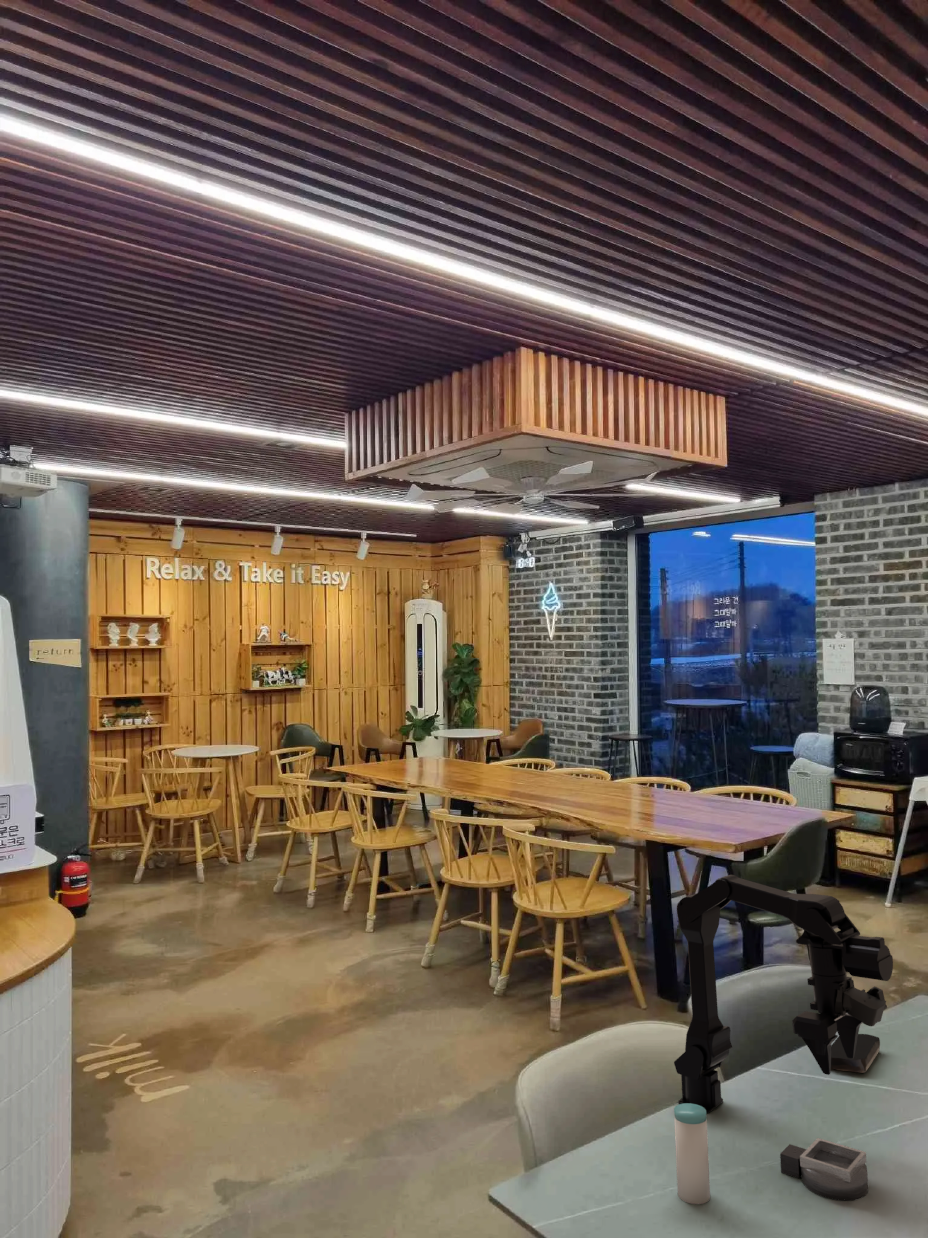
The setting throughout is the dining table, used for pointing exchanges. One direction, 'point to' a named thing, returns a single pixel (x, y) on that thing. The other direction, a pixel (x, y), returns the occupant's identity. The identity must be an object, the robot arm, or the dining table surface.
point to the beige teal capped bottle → (692, 1153)
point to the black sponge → (863, 1054)
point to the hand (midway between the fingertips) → (838, 1066)
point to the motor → (828, 1169)
